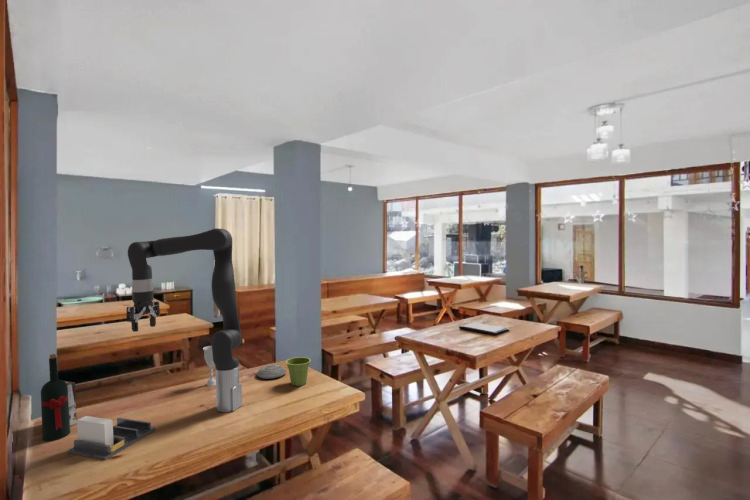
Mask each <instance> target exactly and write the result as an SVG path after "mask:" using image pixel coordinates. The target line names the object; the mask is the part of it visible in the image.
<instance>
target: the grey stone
mask: <svg viewBox="0 0 750 500" xmlns="http://www.w3.org/2000/svg"><path fill="white" fill-rule="evenodd" d="M285 374H287V369H286V368H285V367H284V366H282V365H279V364H269V365H265V366H262V367H261V368H259V369H258V371H257V372H256V374H255V375H256V376H257V377H258V378H260V379H265V380H266V379H267V380H269V379H270V380H271V379H276V378H280V377H283V376H284V375H285Z"/></svg>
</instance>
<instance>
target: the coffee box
mask: <svg viewBox="0 0 750 500" xmlns="http://www.w3.org/2000/svg"><path fill="white" fill-rule="evenodd" d="M64 381H65V382H66V383H67V385H68V402H69V419H70V427H71V426H74V425H75V424H76V425H77V420H78V417H77V400H76V398H77V396H76V382H75V381H74V382H73V381H68V380H67V381H66V380H64ZM43 386H44V385H43ZM43 386H41V388H42V387H43Z"/></svg>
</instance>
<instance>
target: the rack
mask: <svg viewBox="0 0 750 500" xmlns="http://www.w3.org/2000/svg"><path fill="white" fill-rule="evenodd" d="M151 423H152V422H151V421H143V420H137V419H132V418H131V419H130V418H123V417H117V418H116V425H113V440H114V446H112V447H111V448H110V445H105V444H99V443H93V442H87V441H82V440H78V439H75V440H73V447H72V448H69V449H68V454H72V455H78V456H83V457H88V458H92V459H98V460H99V459H100V460H105V461H106V460H107V459H109V458H111V457H113V456H114V455H116V454H118V453H119V452H121V451H123V450H124V449H126V448H128V447H129V446H131V445H133V444H134V443H136V442H137V441H139V440H141V439H142V438H144V437H146V436H147V435H149V434H150V433H152V432H154V431H156V427H155V426H152V424H151Z"/></svg>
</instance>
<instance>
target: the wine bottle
mask: <svg viewBox="0 0 750 500" xmlns="http://www.w3.org/2000/svg"><path fill="white" fill-rule="evenodd" d="M48 366H49V370H48V371H49V380H48V381H47V382H46V383H44V384H43V387H42V386H41V390H40V402H41V403H40V404H41V429H42V441H45V442H53V441H58V440H61V439H63V438H66V437H68V436H69V435H70V434H71V426H70V419H69V402H68V385H67V383H66V382H65V381H66V380H64V379H63V380H62V379H60V378H59V377H58V376H59V375H58V357H57V354H56V353H53V354H52V353H51V354H49V358H48Z"/></svg>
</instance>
